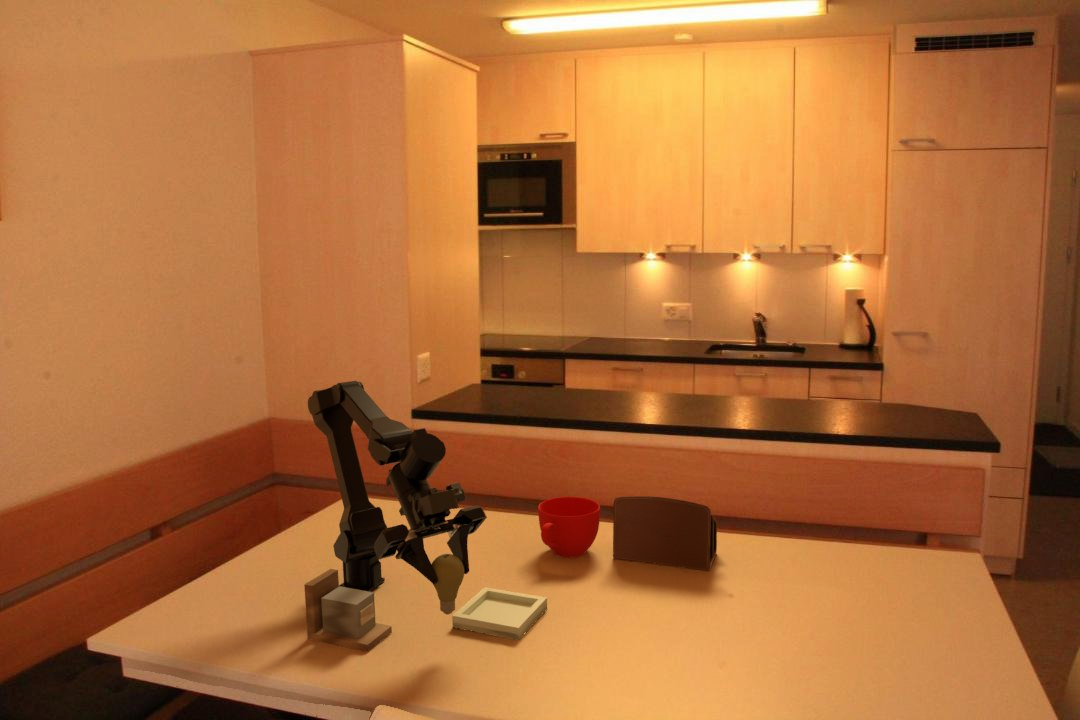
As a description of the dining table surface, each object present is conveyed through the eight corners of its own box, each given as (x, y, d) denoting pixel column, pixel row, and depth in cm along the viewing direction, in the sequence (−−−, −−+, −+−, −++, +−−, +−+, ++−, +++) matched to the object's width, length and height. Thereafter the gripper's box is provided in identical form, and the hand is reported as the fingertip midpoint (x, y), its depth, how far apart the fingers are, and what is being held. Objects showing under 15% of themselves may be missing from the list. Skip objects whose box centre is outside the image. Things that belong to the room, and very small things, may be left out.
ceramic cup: (516, 562, 172) (515, 515, 170) (558, 536, 186) (558, 493, 184) (571, 575, 165) (571, 526, 163) (611, 547, 179) (610, 502, 177)
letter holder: (709, 572, 166) (710, 503, 164) (612, 560, 173) (612, 494, 171) (717, 554, 175) (718, 488, 173) (624, 543, 182) (624, 480, 180)
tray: (452, 627, 144) (452, 615, 143) (485, 598, 155) (484, 587, 155) (518, 640, 139) (518, 627, 139) (547, 609, 150) (547, 597, 150)
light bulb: (460, 622, 133) (459, 563, 132) (426, 620, 134) (424, 560, 132) (468, 607, 139) (467, 549, 137) (436, 604, 140) (434, 547, 138)
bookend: (307, 638, 141) (304, 584, 139) (333, 620, 147) (330, 568, 146) (368, 651, 136) (365, 595, 135) (391, 632, 142) (389, 578, 141)
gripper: (379, 480, 130) (417, 570, 123) (479, 458, 141) (519, 540, 135) (358, 515, 137) (393, 602, 131) (455, 492, 149) (491, 571, 142)
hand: (451, 577), depth 134 cm, fingers closed on light bulb, 6 cm apart
